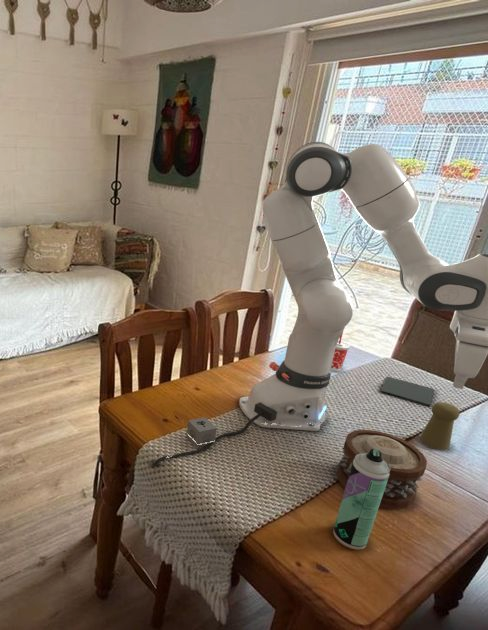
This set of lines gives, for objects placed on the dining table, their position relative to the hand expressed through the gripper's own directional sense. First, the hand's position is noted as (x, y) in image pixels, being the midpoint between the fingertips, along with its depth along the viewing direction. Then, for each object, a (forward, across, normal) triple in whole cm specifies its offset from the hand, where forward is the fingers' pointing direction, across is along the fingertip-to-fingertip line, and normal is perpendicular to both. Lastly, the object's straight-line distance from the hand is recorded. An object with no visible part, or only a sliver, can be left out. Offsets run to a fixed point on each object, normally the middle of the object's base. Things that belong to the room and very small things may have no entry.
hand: (457, 379), depth 104 cm
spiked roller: (+18, +28, -10) cm, 35 cm away
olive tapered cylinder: (+18, 0, 0) cm, 18 cm away
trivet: (+18, -26, -8) cm, 33 cm away
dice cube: (+18, +38, -46) cm, 62 cm away
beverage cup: (+18, -28, -29) cm, 44 cm away
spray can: (+18, +48, -11) cm, 52 cm away
